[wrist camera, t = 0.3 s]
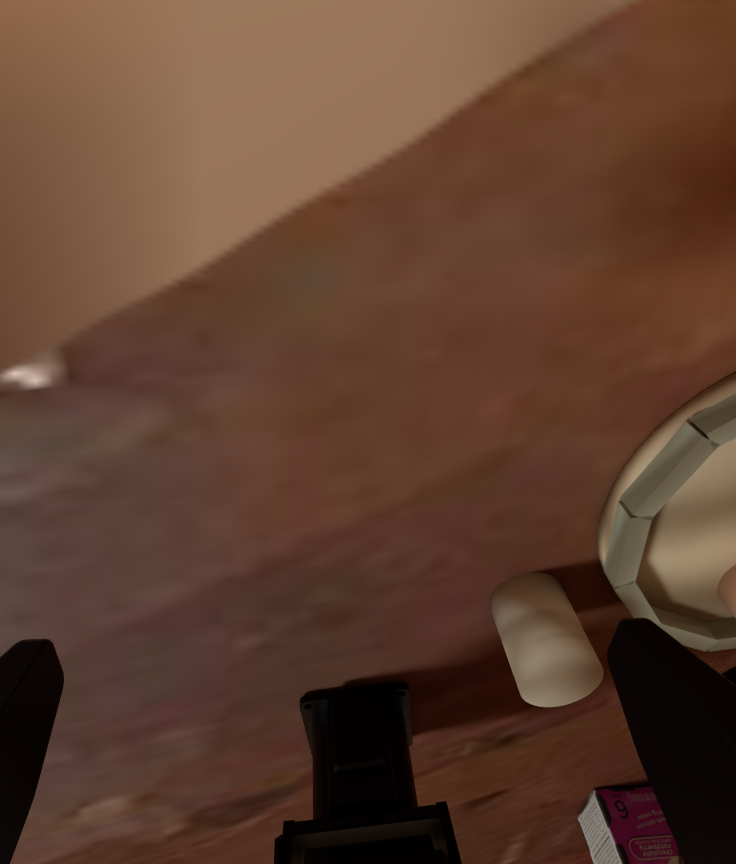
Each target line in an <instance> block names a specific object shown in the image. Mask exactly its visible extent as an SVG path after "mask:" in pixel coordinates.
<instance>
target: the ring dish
mask: <svg viewBox="0 0 736 864" xmlns="http://www.w3.org/2000/svg"><path fill="white" fill-rule="evenodd" d="M597 544H598V555H599V559H600V563H601V566H602V569H603V571H604V573H605V575H606V577H607V579H608V581H609V582H610V584H611V586H612V587H613V589H614V591H615V592H616V594H617V595H618V597H619V598H620V599H621V600H622V602H623V603H624V604H625V605H626V607H627V609H628V610H629V612H630V613H631V615H632V616H633V618H640V617H642V618H647V619H649V620H651V621H653V622H654V623H655V624H657V625H658V626H659V627H661V628H662V629H663V630H664V631H666V632H667V633H668V634H670V635H671V636H672V637H673V638H675V639H676V640H677V641H679V642H680V643H681V644H682V645H684V646H687V647H691V648H694V649H698V650H702V651H705V652H706V651H707V650H708V651H709V652H711V651H718V650H726V649H733V648H736V618H735V617H734V616H733V615H732V613H731V612H730V611H729V610H728V608H727V607H726V606H725V605H724V603H723V602H722V601H721V600H720V598H719V597H718V595H717V586H718V583H719V581H720V580H721V578H722V577H723V575H724V574H725V573H726V572H727V571H728V570H729V569H730V568H731V567H733V566H734V565H735V564H736V372H735V373H733V374H731V375H729V376H727V377H725V378H723V379H722V380H720V381H718V382H717V383H715V384H714V385H712V386H710V387H709V388H707V389H705V390H704V391H702V392H701V393H699V394H698V395H696V396H695V397H694V398H692V399H691V400H690V401H688V402H687V403H686V404H684V405H683V406H682V407H680V408H679V409H678V410H676V411H675V412H674V413H673V414H672V415H671V416H670V417H668V418H667V419H666V420H665V421H664V422H663V423H662V424H661V425H659V426H658V427H657V428H656V429H655V430H654V431H653V432H652V433H651V435H650V436H649V437H648V438H647V439H646V440H645V441H644V442H643V443H642V444H641V445H640V446H639V447H638V449H637V450H636V451H635V453H634V454H633V455H632V457H631V458H630V459H629V461H628V462H627V463H626V465H625V466H624V467H623V469H622V471H621V472H620V474H619V476H618V477H617V479H616V481H615V482H614V484H613V486H612V488H611V490H610V492H609V495H608V497H607V499H606V501H605V504H604V507H603V510H602V514H601V517H600V521H599V527H598V536H597Z"/></svg>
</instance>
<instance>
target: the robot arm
mask: <svg viewBox="0 0 736 864" xmlns="http://www.w3.org/2000/svg"><path fill="white" fill-rule="evenodd" d="M607 660H608V665H609V668H610V671H611V674H612V677H613V680H614V683H615V686H616V689H617V692H618V696H619V699H620V702H621V705H622V708H623V711H624V714H625V717H626V720H627V723H628V726H629V729H630V732H631V735H632V739H633V742H634V744H635V747H636V750H637V753H638V756H639V758H640V761H641V763H642V766H643V768H644V771H645V773H646V775H647V778H648V780H649V782H650V785H651V787H652V789H653V791H654V794H655V796H656V798H657V801H658V803H659V805H660V808H661V810H662V812H663V815H664V817H665V819H666V821H667V824H668V826H669V828H670V831H671V833H672V835H673V838H674V840H675V842H676V844H677V847H678V849H679V851H680V854H681V856H682V858H683V861H684V863H685V864H736V686H735V685H734V684H733V683H731V682H730V681H729V680H728V679H726V678H725V677H724V676H722V675H721V674H720V673H719V672H717V671H716V670H715V669H713V668H712V667H711V666H710V665H708V664H707V663H706V662H704V661H703V660H702V659H701V658H699V657H698V656H697V655H695V654H694V653H693V652H691V651H690V650H689V649H688V648H686V647H685V646H684V645H682V644H681V643H680V642H679V641H677V640H676V639H675V638H673V637H672V636H671V635H670V634H668V633H667V632H666V631H664V630H663V629H662V628H661V627H659V626H658V625H657V624H655V623H654V622H653V621H651V620H649V619H647V618H642V617H640V618H624V619H622V620H621V621H620V622H619V624H618V626H617V629H616V631H615V633H614V636H613V638H612V640H611V642H610V645H609V647H608V651H607ZM63 684H64V674H63V670H62V667H61V664H60V661H59V659H58V656H57V653H56V650H55V647H54V645H53V643H52V642H51V641H50V640H49V639H28V640H22V641H19V642H18V643H16V644H15V645H13V646H12V647H11V648H10V649H9V650H8V651H7V652H6V653H4V654H3V655H2V656H1V657H0V864H10V862H11V859H12V856H13V854H14V851H15V848H16V846H17V843H18V840H19V838H20V835H21V832H22V829H23V827H24V824H25V821H26V819H27V816H28V813H29V810H30V807H31V804H32V802H33V799H34V796H35V792H36V789H37V785H38V782H39V778H40V774H41V770H42V767H43V763H44V759H45V755H46V751H47V747H48V744H49V740H50V736H51V732H52V728H53V724H54V721H55V717H56V713H57V709H58V705H59V702H60V698H61V694H62V690H63ZM300 710H301V714H302V718H303V722H304V726H305V730H306V734H307V738H308V742H309V746H310V750H311V753H312V757H313V820H306V821H297V822H295V821H294V820H289V821H284V825H283V834H282V835H280V836H279V837H277V838H276V839H275V850H274V864H462V863H461V859H460V855H459V851H458V847H457V843H456V839H455V835H454V831H453V827H452V823H451V819H450V815H449V811H448V807H447V803H446V801H444V802H436V805H428V806H420V807H418V803H417V797H416V790H415V784H414V777H413V771H412V764H411V758H410V751H409V746H411V745H412V743H413V741H412V725H411V710H410V695H409V688H408V685H407V684H406V683H394V684H387V685H380V686H372V687H365V688H357V689H350V690H342V691H335V692H327V693H320V694H313V695H306V696H303V697H301V699H300Z"/></svg>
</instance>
